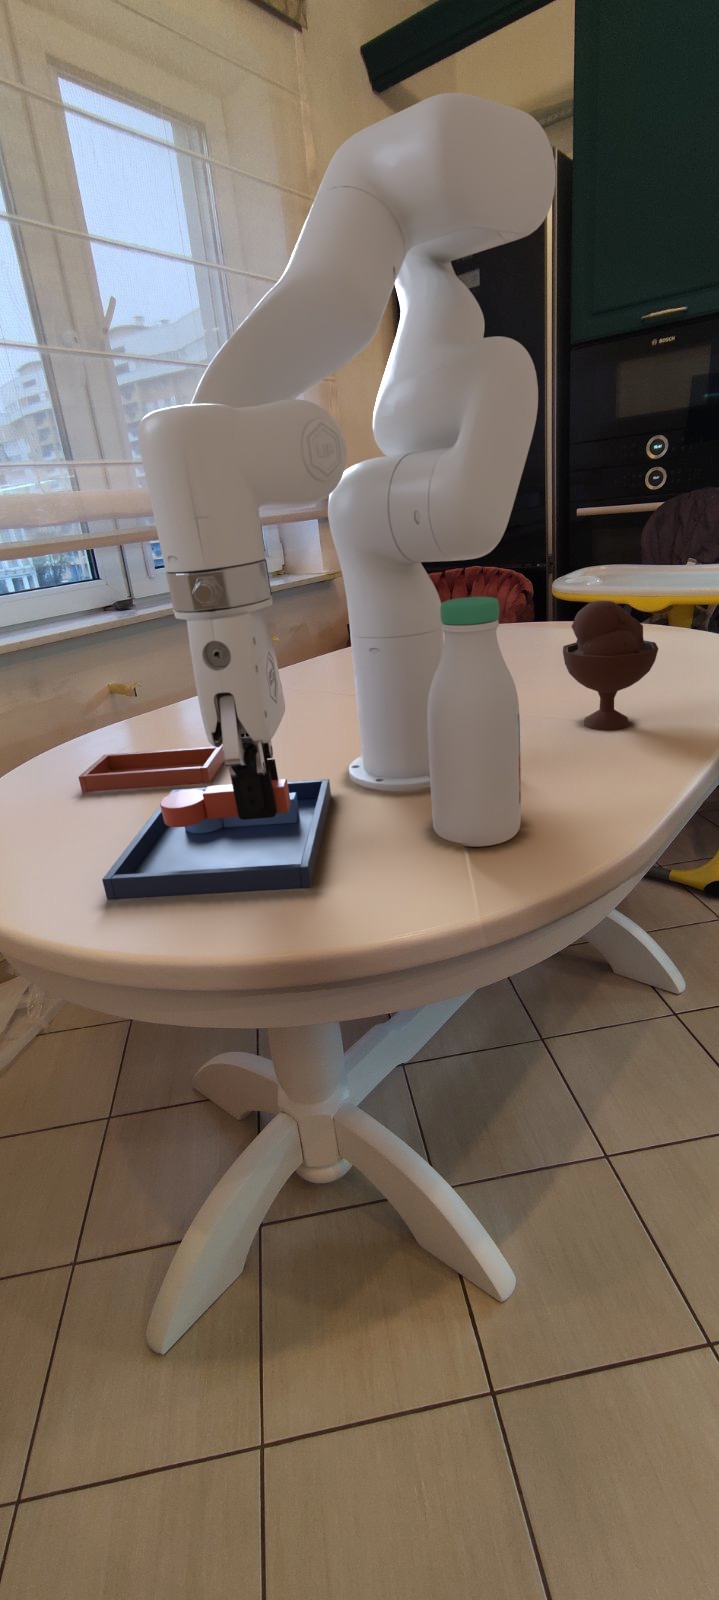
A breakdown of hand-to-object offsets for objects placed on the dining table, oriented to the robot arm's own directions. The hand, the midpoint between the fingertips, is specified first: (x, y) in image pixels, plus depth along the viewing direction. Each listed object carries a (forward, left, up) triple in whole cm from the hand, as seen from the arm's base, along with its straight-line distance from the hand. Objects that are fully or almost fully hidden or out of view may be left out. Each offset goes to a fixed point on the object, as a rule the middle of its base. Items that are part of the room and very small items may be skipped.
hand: (260, 809), depth 62 cm
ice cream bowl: (-38, -31, -5) cm, 49 cm away
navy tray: (+3, -2, -4) cm, 6 cm away
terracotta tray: (+17, -22, -4) cm, 28 cm away
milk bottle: (-19, -2, -5) cm, 19 cm away
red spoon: (+3, 0, 0) cm, 3 cm away
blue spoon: (+3, -6, -4) cm, 8 cm away
